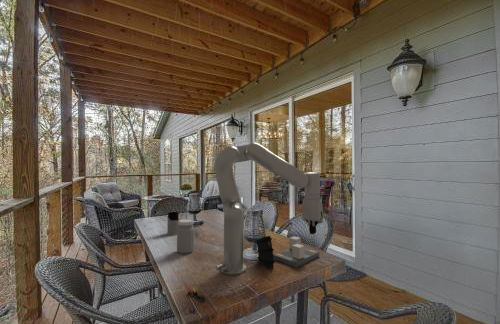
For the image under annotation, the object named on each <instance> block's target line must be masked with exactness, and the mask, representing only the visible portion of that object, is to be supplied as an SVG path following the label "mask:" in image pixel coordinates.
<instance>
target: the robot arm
mask: <svg viewBox="0 0 500 324" xmlns="http://www.w3.org/2000/svg"><path fill="white" fill-rule="evenodd" d="M247 161H253V162H254V163H256V164H257V165H259V166H260V167H263V168H264V169H265V170H267V171H268V172H270V173H271V174H274V175H276V176H278V177H281V178H282V179H284V180H286V181H288V183H289V184H290V185H291V186H292V187H295V188H298V189H304V193H303V194H302V197H304V198H303V200H302V202H301V203H302V204H301V218H302V221H305V222H306V223H307V225H308V230H309V235H310V234H311V235H315V234H316V233H317V226H318V224H323V223H324V221H323V220H324V208H323V207H324V206H323V203H322V202H323V201H322V199H321V175H320V173H319V172H316V171H314V172H313V171H309V172H308V171H307V172H303V171H302V170H301V169H299V168H297V167H296V166H295V165H293V164H291V163H289V162H288V161H286V160H284V159H283V158H281V157H280V156H278V155H276V154H275V153H274V152H272V151H270V150H269V149H267V147H265V146H263V145H261V144H259V143H258V142H250V143H248V144H244V145H238V146H234V145H229V146H228V145H227V146H226V147H224V148H223V149H222V150H221V151H220V152H218V154H217V156H216V159H215V161H214V173H215V176H216V177H215V178H216V182H217V186H218V187H217V188H218V194H219V197H220V199H221V202H222V207H223V212H224V213H223V260H222V261H221V263H220V264H219V265H218V264H217V265H215V270H216V271H220V272H222V273H223V274H226V275H229V276H235V275H241V274H244V273H246V271H247V265H246V264H245V263H244V231H245V229H244V228H245V227H244V226H245V225H244V224H245V213H244V210H243V206H242V200H241V198H240V193H239V189H238V185H237V182H236V180H235V175H234V171H233V170H234V169H233V166H234V164H237V163H243V162H247Z"/></svg>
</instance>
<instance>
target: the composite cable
mask: <svg viewBox="0 0 500 324" xmlns="http://www.w3.org/2000/svg"><path fill="white" fill-rule="evenodd" d="M191 288H192V289H190V288H188V292H187V294H186V296H187V297H190V298H192V299H193V298H194V299H195V300H197V302H199V303H205V302H206V298H205V297H204V296H201V295H200V296H199V288H198V287H197V286H196V287H195V286H192V287H191Z"/></svg>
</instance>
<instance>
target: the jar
mask: <svg viewBox="0 0 500 324" xmlns="http://www.w3.org/2000/svg"><path fill="white" fill-rule="evenodd" d="M178 224H179V226H178V227H179V228H178V229H177V235H176V251H177V252H178V253H179V254H182V255H186V254H187V255H188V254H191V253H193V252H194V250H195V227H194V220H193V219H190V218H187V219H186V218H185V219H184V218H183V219H181V220H180V219H179V221H178Z"/></svg>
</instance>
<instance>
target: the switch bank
mask: <svg viewBox="0 0 500 324" xmlns="http://www.w3.org/2000/svg"><path fill="white" fill-rule="evenodd" d="M319 257H320V251H317V250H314V249H310V248H308V247H304V258H301V259H297V258H294V257H292V249H290V247H289V248H287V249H284V250H282V251H279V252H277V253H273V260H274V261H277V262H280V263H283V264H285V265H288V266H291V267H294V268H299V267H301V266H303V265H304V264H306V263H307V264H308V263H309V262H311V261H313V260H314V259H316V258H319Z"/></svg>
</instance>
